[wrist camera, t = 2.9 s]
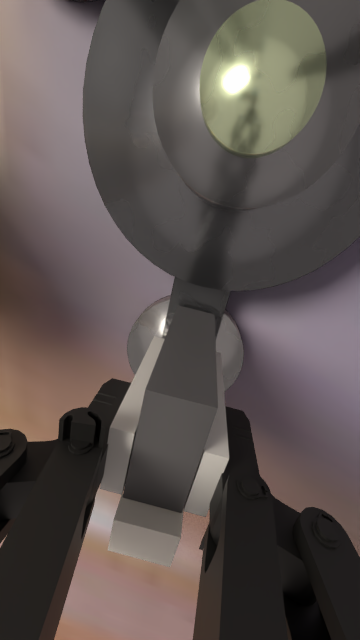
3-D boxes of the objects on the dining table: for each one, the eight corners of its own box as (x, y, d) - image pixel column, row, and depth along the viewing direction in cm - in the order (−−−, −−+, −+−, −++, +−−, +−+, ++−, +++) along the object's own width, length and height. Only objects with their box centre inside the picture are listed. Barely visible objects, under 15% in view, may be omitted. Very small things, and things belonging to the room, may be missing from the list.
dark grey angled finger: (176, 304, 14) (136, 406, 6) (215, 314, 14) (220, 428, 6) (156, 395, 16) (107, 550, 9) (189, 403, 16) (169, 567, 9)
